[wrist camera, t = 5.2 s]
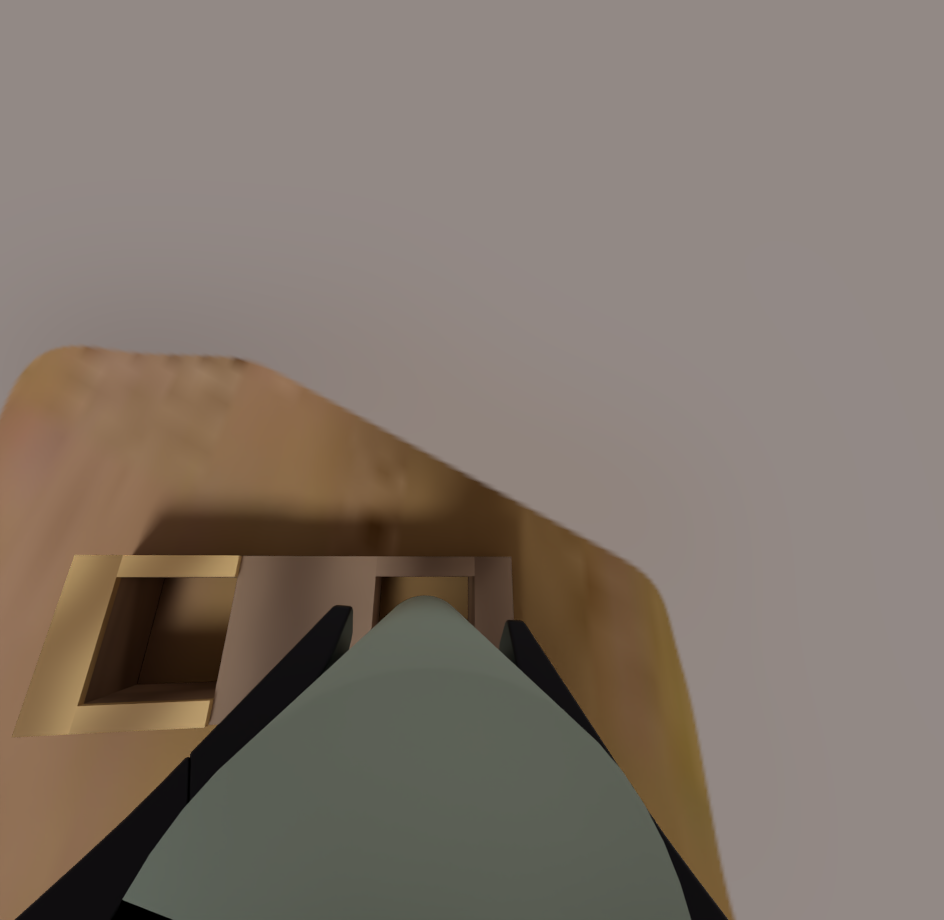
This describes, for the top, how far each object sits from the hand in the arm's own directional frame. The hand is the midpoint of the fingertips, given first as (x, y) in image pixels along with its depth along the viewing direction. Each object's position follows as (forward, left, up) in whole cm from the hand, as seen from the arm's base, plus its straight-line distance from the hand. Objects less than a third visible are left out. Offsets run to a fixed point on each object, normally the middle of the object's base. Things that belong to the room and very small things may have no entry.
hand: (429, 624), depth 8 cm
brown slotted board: (-3, +5, -13) cm, 15 cm away
